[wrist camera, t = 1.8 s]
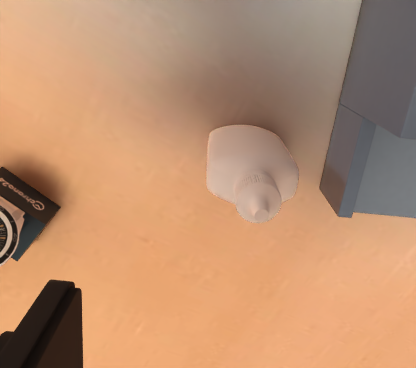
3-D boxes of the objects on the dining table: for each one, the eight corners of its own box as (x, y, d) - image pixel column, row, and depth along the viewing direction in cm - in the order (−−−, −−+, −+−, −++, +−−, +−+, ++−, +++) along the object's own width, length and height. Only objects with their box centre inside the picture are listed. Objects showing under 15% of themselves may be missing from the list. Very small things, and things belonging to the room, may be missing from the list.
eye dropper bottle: (255, 185, 31) (279, 273, 20) (198, 148, 30) (189, 219, 19) (289, 142, 29) (335, 211, 18) (230, 101, 28) (241, 149, 17)
